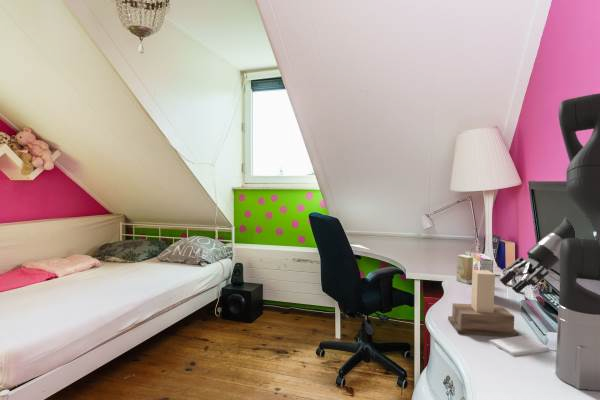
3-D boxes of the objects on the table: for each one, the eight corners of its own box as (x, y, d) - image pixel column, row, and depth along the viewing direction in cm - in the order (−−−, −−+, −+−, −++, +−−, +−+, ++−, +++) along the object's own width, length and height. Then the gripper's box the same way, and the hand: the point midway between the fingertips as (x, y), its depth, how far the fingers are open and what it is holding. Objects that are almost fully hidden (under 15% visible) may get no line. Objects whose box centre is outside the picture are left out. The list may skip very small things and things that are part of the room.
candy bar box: (471, 291, 151) (472, 253, 150) (484, 292, 150) (485, 253, 149) (478, 300, 140) (480, 258, 139) (492, 301, 139) (494, 259, 138)
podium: (518, 337, 106) (519, 317, 106) (458, 333, 109) (458, 314, 108) (502, 322, 117) (503, 304, 117) (448, 319, 120) (448, 302, 119)
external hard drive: (548, 352, 98) (511, 358, 95) (523, 340, 106) (488, 344, 103) (549, 347, 98) (512, 352, 95) (523, 334, 106) (488, 338, 103)
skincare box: (455, 280, 168) (456, 254, 167) (462, 279, 170) (463, 254, 169) (467, 284, 162) (468, 257, 161) (474, 283, 164) (474, 256, 163)
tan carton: (493, 312, 110) (495, 274, 109) (476, 311, 111) (477, 273, 110) (487, 307, 115) (488, 270, 114) (471, 306, 116) (472, 269, 115)
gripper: (528, 238, 117) (489, 272, 119) (553, 246, 103) (509, 284, 105) (544, 255, 116) (506, 288, 118) (572, 265, 102) (528, 303, 104)
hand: (507, 286), depth 111 cm, fingers open, 8 cm apart
